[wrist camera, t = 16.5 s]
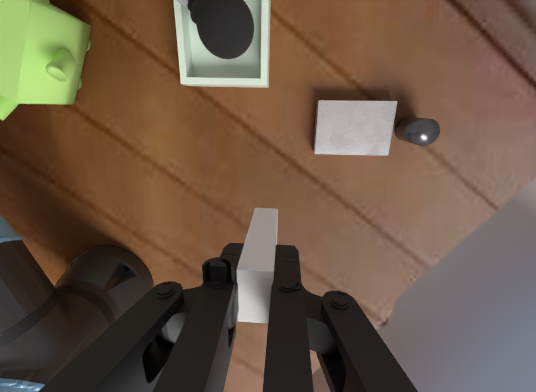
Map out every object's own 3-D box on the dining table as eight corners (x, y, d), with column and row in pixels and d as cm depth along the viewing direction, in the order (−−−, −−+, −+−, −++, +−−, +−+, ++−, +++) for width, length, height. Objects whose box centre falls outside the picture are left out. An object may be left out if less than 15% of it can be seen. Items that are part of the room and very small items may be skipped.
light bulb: (166, -59, 23) (254, 15, 24) (199, -42, 28) (270, 18, 29) (147, 13, 26) (225, 74, 28) (180, 16, 32) (244, 68, 33)
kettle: (75, -33, 31) (-32, -104, 21) (131, 84, 35) (66, 75, 25) (-16, 16, 34) (-152, -25, 23) (47, 120, 38) (-44, 125, 27)
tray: (190, 86, 35) (180, 84, 32) (182, -10, 31) (171, -23, 28) (268, 87, 34) (267, 85, 31) (270, -11, 31) (269, -24, 27)
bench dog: (392, 140, 35) (409, 145, 31) (397, 116, 34) (415, 118, 30) (416, 141, 35) (436, 146, 31) (421, 117, 34) (442, 119, 30)
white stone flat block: (312, 150, 37) (314, 153, 35) (316, 100, 35) (318, 100, 33) (381, 152, 37) (387, 155, 34) (389, 101, 34) (397, 101, 32)
